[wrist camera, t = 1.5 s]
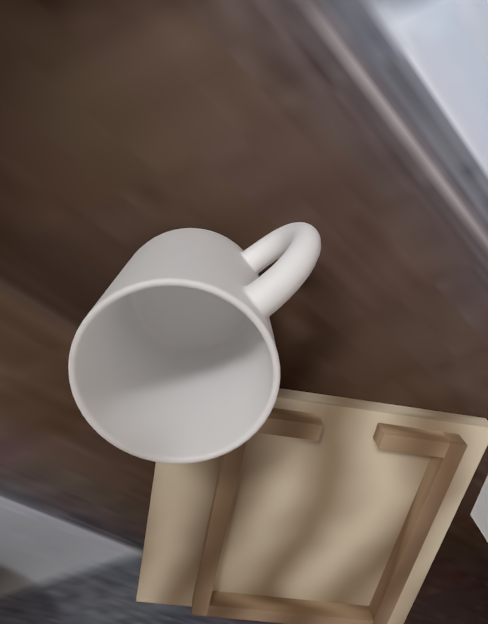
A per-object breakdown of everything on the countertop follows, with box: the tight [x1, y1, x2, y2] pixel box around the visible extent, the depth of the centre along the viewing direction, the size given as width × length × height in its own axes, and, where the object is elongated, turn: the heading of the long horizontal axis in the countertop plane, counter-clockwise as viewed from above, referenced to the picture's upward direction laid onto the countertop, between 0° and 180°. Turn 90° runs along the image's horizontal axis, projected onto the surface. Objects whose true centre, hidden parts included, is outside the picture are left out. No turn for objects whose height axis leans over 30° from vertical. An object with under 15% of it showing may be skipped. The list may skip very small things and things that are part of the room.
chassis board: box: [136, 388, 488, 624], centre depth 33 cm, size 22×20×2 cm
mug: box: [68, 222, 321, 464], centre depth 22 cm, size 12×8×10 cm
